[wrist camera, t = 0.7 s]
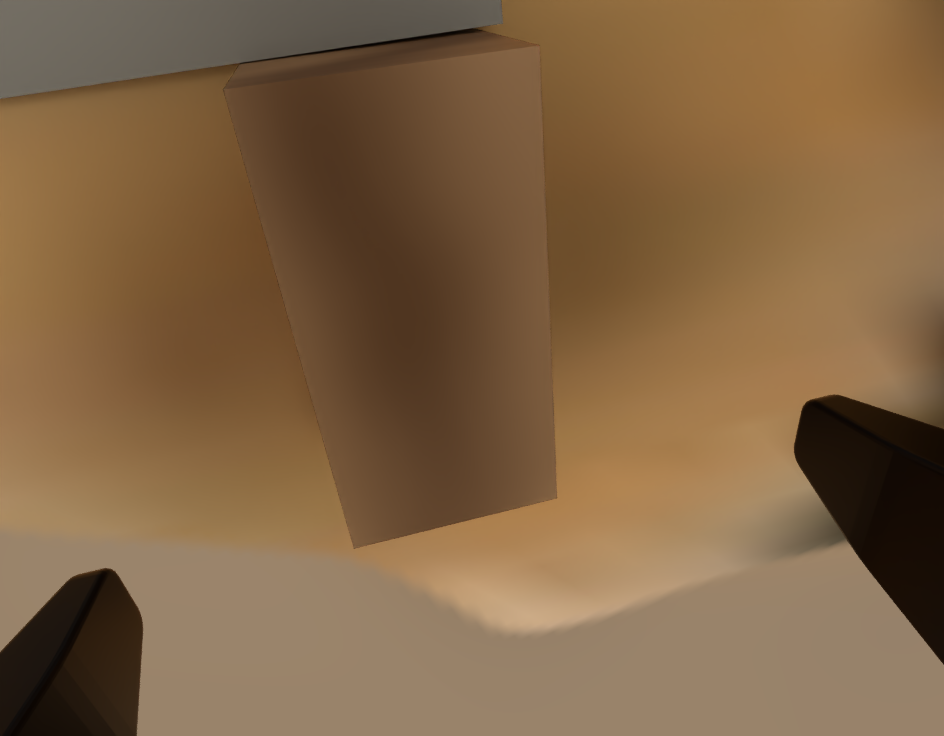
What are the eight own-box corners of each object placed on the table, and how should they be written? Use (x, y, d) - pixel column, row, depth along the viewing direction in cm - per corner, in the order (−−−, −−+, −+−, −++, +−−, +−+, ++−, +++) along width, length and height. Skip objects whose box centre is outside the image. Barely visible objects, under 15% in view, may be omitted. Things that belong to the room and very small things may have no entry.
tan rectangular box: (468, 27, 15) (539, 45, 10) (501, 389, 20) (557, 497, 16) (244, 56, 14) (223, 89, 10) (340, 425, 19) (353, 548, 15)
